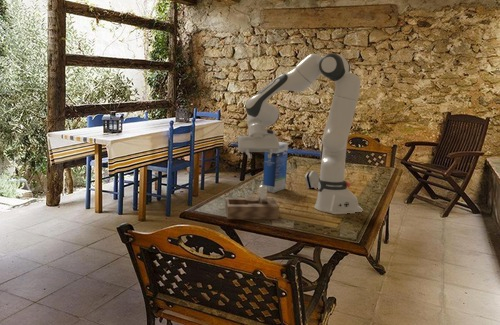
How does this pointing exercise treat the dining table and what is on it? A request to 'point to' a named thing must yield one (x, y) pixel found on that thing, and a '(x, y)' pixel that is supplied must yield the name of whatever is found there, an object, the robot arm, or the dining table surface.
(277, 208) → the wooden compartment tray
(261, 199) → the steel peg
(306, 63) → the robot arm
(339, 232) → the dining table surface
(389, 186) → the dining table surface
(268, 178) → the string lights box
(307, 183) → the hinge
